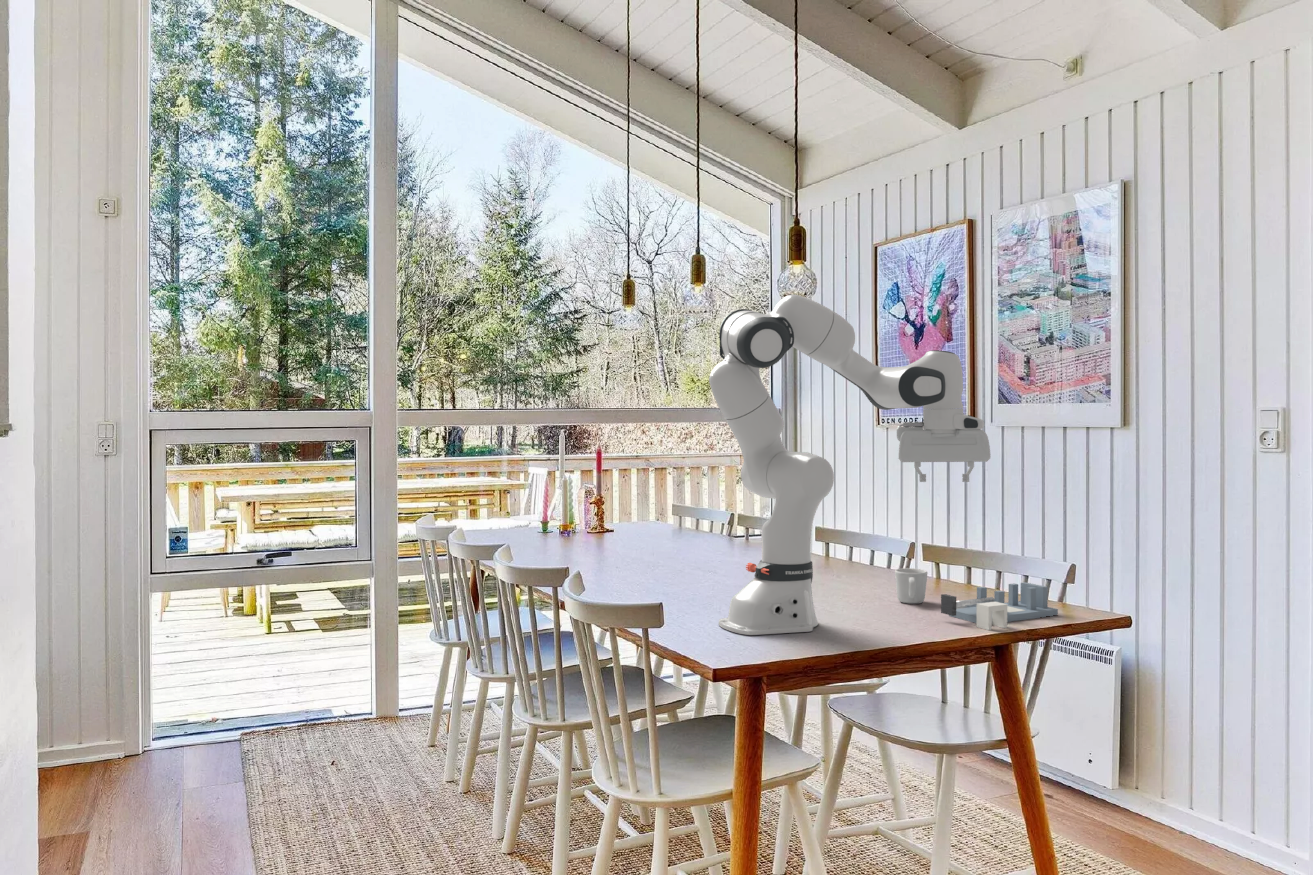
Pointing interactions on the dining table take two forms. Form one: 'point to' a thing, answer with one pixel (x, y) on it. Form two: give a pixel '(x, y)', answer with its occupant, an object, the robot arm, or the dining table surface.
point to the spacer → (991, 615)
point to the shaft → (959, 603)
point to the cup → (911, 585)
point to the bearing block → (1015, 603)
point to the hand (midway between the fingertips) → (944, 481)
